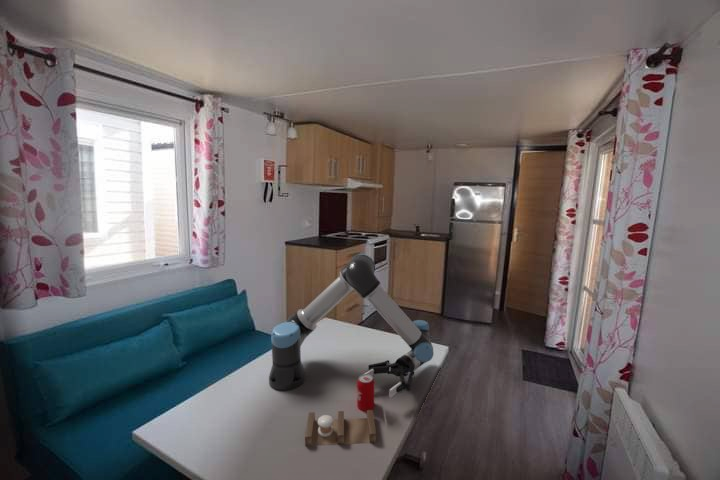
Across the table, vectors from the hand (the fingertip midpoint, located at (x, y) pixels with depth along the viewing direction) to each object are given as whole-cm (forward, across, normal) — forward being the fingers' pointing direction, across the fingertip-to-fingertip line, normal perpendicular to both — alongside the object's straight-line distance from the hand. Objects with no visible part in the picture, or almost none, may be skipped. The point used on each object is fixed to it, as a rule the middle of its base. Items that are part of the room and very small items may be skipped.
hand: (375, 386), depth 117 cm
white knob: (+23, +2, -6) cm, 24 cm away
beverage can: (+5, +1, -7) cm, 9 cm away
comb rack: (+20, -2, -7) cm, 21 cm away
